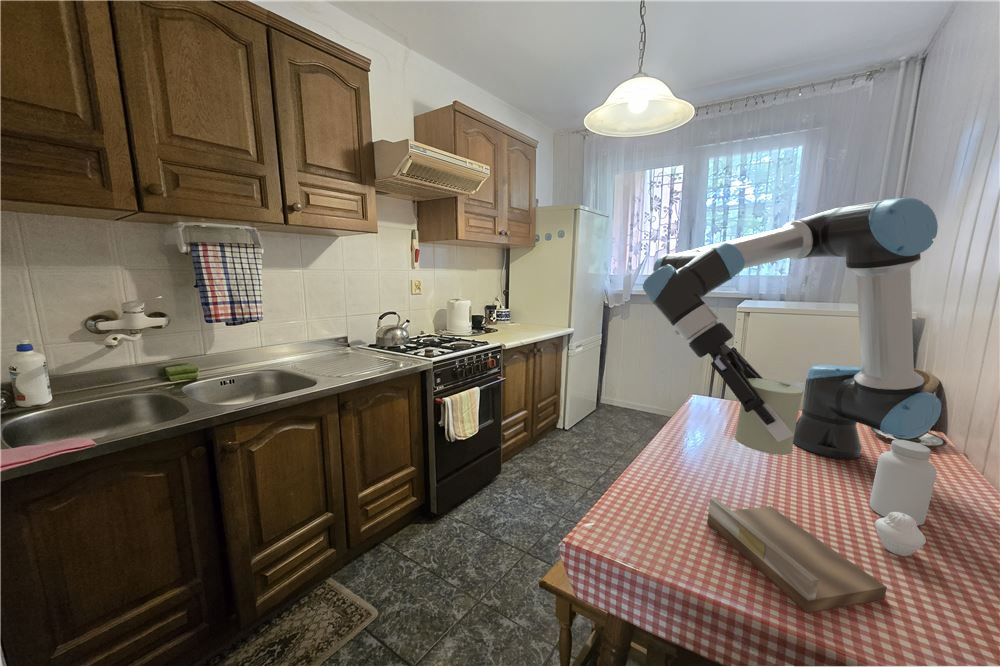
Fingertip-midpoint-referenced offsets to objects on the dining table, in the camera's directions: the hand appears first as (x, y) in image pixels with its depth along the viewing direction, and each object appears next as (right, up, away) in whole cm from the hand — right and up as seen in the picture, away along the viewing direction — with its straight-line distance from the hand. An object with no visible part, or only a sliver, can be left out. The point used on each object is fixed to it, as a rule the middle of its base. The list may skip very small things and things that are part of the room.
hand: (787, 429), depth 71 cm
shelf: (-4, -20, -5) cm, 21 cm away
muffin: (+17, -21, -3) cm, 27 cm away
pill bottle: (+27, -19, +7) cm, 34 cm away
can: (-3, -3, +3) cm, 5 cm away
